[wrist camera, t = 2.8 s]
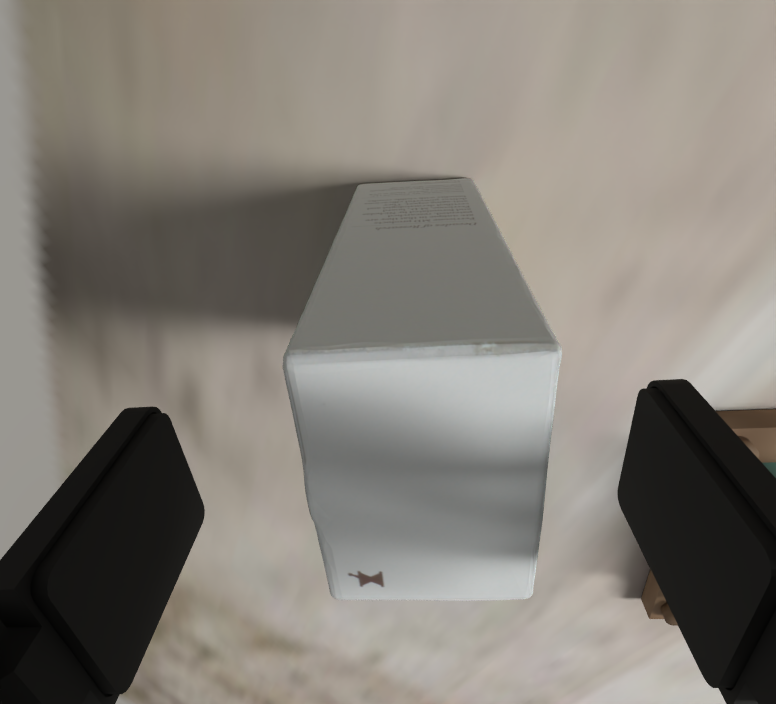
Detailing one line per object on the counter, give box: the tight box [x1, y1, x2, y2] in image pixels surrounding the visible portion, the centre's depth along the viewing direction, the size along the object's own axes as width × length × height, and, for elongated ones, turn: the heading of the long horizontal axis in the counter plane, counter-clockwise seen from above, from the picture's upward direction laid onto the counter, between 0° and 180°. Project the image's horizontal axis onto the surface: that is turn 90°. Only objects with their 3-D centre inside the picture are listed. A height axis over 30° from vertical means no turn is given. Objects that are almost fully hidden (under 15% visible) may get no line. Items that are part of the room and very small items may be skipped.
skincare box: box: [283, 178, 562, 601], centre depth 13 cm, size 6×4×12 cm
